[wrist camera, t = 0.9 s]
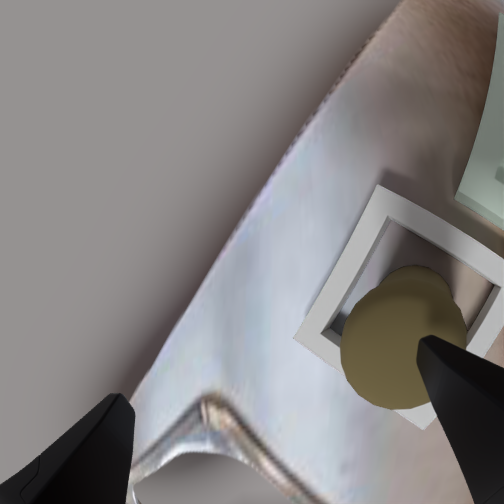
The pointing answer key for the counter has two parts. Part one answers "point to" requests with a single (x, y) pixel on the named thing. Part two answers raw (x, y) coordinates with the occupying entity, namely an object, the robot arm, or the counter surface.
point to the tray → (488, 149)
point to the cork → (398, 336)
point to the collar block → (357, 257)
